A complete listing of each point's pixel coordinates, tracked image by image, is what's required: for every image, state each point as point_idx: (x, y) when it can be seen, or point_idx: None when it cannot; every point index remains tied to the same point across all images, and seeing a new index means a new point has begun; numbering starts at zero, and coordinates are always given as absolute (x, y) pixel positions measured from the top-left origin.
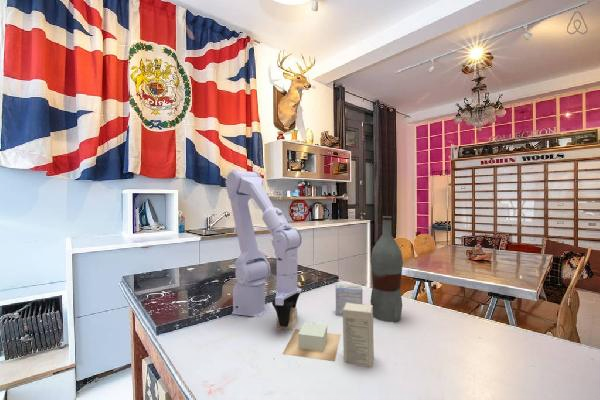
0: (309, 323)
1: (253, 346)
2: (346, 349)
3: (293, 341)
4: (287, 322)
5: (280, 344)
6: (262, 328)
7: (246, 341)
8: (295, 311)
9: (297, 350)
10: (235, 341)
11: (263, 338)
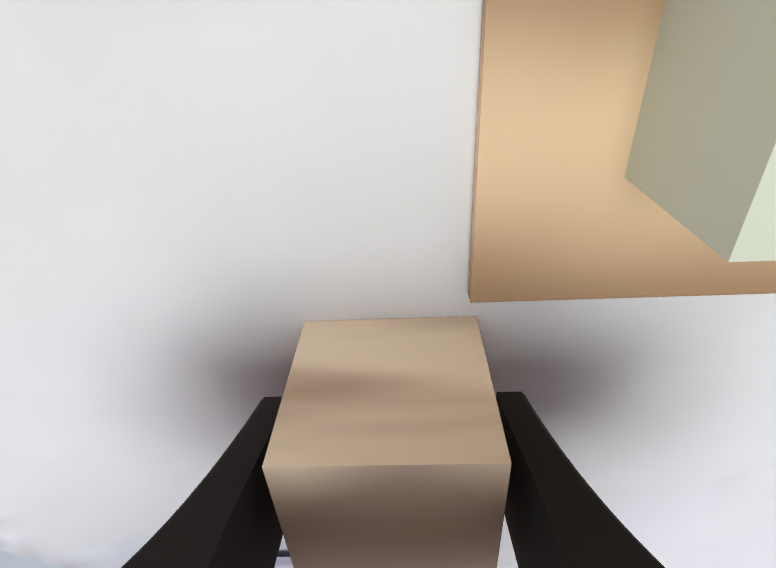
0: (773, 158)
1: (757, 481)
2: None
3: None
4: (542, 428)
5: (749, 342)
6: None
7: (681, 526)
8: (350, 452)
9: None
10: (679, 563)
11: (638, 464)
